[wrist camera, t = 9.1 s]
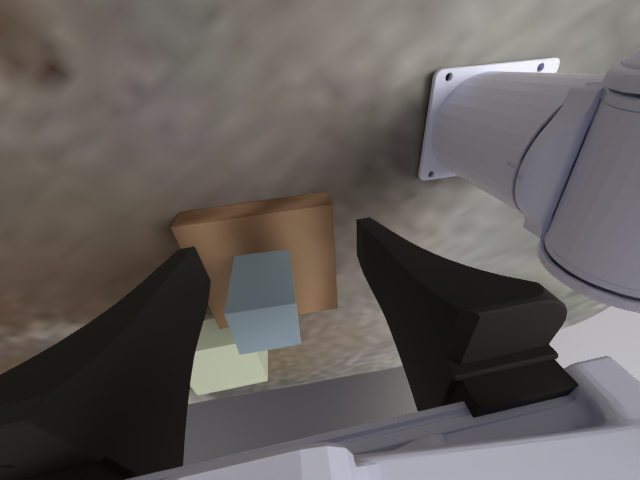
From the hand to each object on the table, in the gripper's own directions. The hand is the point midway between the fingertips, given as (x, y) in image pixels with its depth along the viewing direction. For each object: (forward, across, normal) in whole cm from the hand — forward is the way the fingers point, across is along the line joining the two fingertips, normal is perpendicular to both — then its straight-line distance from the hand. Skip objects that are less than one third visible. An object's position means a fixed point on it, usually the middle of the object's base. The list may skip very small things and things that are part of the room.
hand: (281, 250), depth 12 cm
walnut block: (+11, +2, +8) cm, 14 cm away
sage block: (+11, +10, +19) cm, 24 cm away
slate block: (+8, +2, +8) cm, 11 cm away
